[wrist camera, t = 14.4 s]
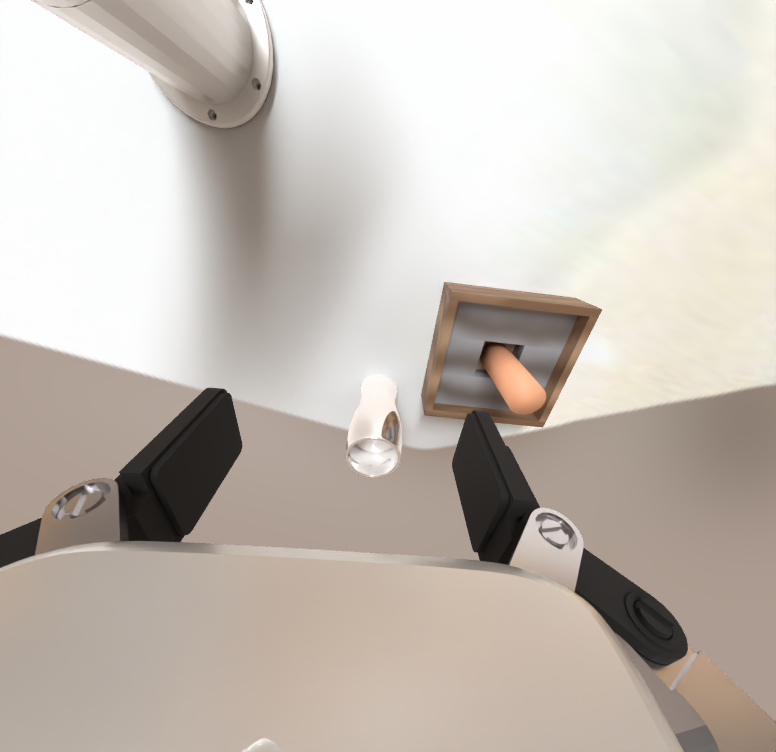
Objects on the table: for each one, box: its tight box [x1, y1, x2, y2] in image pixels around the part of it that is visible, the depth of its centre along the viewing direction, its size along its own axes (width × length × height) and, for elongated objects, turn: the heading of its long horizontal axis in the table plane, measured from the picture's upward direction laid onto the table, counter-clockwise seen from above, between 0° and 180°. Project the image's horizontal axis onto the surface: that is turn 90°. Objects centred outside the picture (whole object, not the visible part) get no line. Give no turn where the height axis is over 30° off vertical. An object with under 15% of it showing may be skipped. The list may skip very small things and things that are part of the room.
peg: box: [479, 342, 546, 415], centre depth 35 cm, size 4×4×12 cm
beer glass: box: [345, 374, 402, 478], centre depth 39 cm, size 7×7×15 cm
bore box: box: [421, 282, 602, 427], centre depth 39 cm, size 18×18×6 cm
